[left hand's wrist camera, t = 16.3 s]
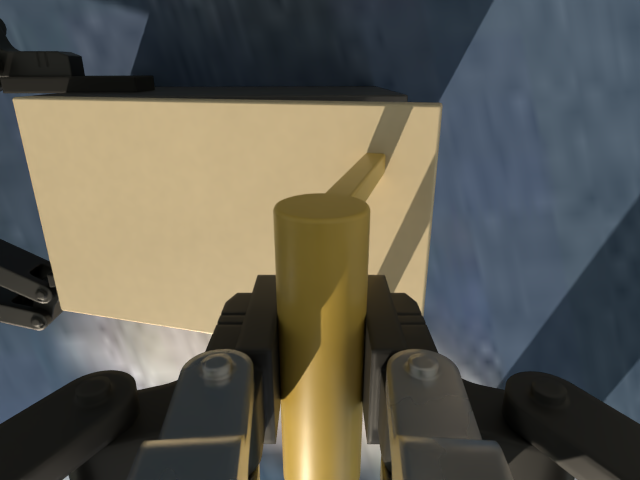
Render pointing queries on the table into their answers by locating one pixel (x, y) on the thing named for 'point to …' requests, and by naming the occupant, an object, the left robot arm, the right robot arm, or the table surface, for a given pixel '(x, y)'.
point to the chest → (259, 93)
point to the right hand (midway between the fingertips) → (158, 184)
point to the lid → (242, 229)
